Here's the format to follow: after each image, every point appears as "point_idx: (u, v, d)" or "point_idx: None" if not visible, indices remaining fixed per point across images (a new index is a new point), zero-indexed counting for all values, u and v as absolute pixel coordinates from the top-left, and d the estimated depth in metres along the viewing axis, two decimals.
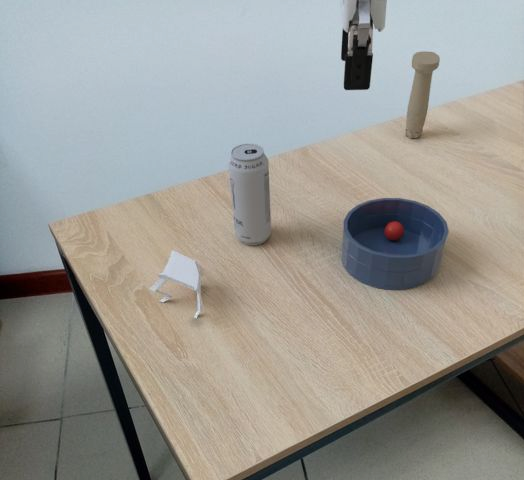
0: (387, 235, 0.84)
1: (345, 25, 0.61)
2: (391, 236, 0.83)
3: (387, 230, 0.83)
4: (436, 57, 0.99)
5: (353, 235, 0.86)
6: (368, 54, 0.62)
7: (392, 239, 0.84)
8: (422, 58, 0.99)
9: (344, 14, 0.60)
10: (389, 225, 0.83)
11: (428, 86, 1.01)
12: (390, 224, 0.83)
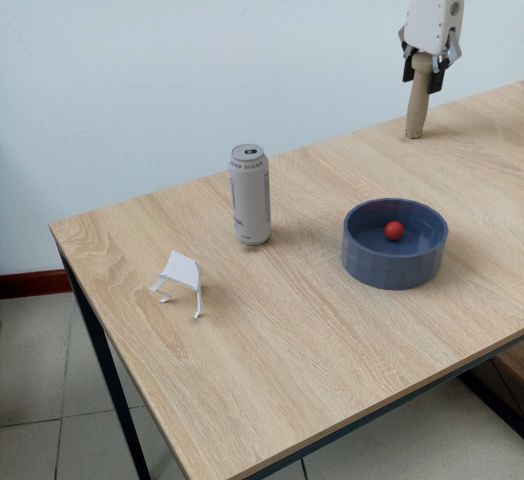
0: (387, 235, 0.84)
1: (439, 50, 0.93)
2: (391, 236, 0.83)
3: (387, 230, 0.83)
4: None
5: (353, 235, 0.86)
6: (446, 69, 0.97)
7: (392, 239, 0.84)
8: (422, 58, 0.99)
9: (439, 44, 0.93)
10: (389, 225, 0.83)
11: None
12: (390, 224, 0.83)
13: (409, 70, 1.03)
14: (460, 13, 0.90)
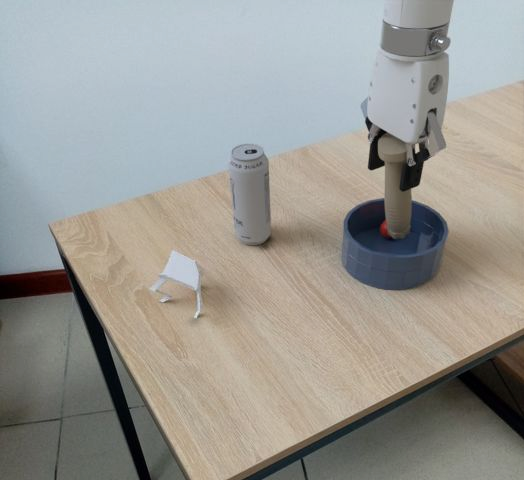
0: (383, 233, 0.84)
1: (414, 139, 0.66)
2: (386, 232, 0.83)
3: (380, 229, 0.84)
4: None
5: (353, 235, 0.86)
6: (425, 160, 0.70)
7: None
8: (390, 144, 0.71)
9: (413, 131, 0.65)
10: (381, 224, 0.84)
11: None
12: (382, 223, 0.84)
13: (376, 155, 0.75)
14: (443, 90, 0.63)
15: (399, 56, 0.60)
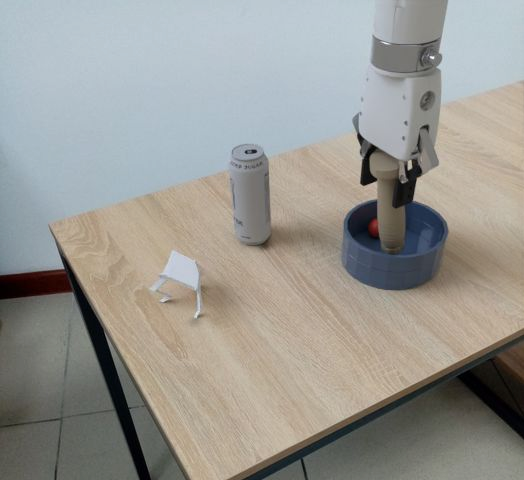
0: (376, 237, 0.85)
1: (406, 156, 0.64)
2: (374, 234, 0.84)
3: None
4: None
5: (353, 235, 0.86)
6: (418, 177, 0.68)
7: (378, 233, 0.84)
8: (382, 160, 0.69)
9: (405, 148, 0.63)
10: None
11: None
12: None
13: (369, 171, 0.73)
14: (436, 106, 0.61)
15: (389, 72, 0.59)
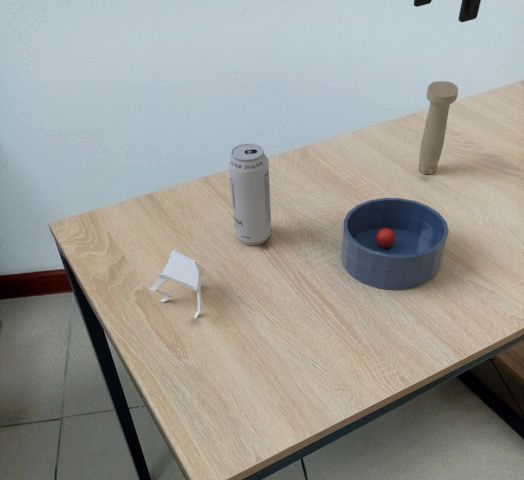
0: None
1: None
2: None
3: None
4: (454, 89, 0.89)
5: (353, 235, 0.86)
6: None
7: None
8: (438, 90, 0.89)
9: None
10: (381, 229, 0.83)
11: (444, 119, 0.92)
12: (382, 229, 0.82)
13: None
14: None
15: None
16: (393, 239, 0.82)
